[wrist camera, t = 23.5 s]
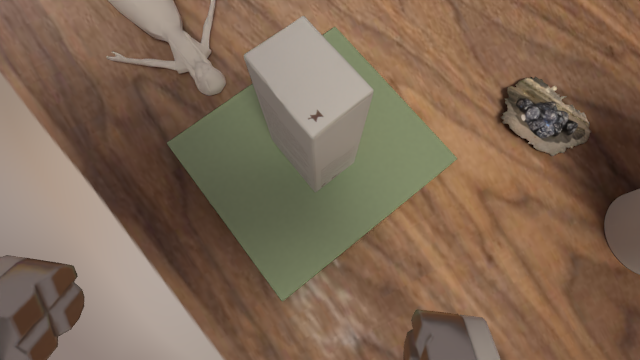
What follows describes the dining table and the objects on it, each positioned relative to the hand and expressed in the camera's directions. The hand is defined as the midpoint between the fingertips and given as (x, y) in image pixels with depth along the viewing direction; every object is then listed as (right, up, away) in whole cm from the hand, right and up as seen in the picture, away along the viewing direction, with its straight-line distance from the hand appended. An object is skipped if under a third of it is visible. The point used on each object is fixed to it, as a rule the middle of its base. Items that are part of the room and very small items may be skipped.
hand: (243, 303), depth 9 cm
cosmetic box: (+1, +5, +22) cm, 22 cm away
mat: (+1, +5, +22) cm, 23 cm away
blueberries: (+21, +8, +23) cm, 33 cm away
